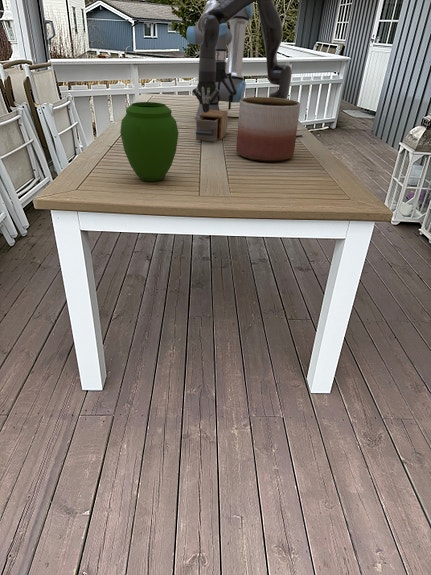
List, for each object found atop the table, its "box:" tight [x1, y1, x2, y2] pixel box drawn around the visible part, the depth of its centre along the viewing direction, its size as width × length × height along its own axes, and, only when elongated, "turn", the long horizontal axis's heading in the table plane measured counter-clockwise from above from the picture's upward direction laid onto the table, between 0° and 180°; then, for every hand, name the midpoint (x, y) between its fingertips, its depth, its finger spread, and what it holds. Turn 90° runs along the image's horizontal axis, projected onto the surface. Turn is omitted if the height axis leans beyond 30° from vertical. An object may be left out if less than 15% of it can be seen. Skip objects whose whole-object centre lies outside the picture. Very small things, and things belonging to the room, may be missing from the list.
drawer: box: [195, 117, 220, 143], centre depth 198 cm, size 21×10×9 cm, turn 168°
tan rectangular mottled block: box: [199, 109, 229, 141], centre depth 208 cm, size 17×11×11 cm, turn 168°
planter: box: [235, 96, 301, 163], centre depth 175 cm, size 25×25×22 cm
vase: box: [119, 101, 179, 182], centre depth 140 cm, size 20×20×24 cm
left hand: (216, 108), depth 209 cm, fingers open, 13 cm apart
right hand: (206, 112), depth 188 cm, fingers closed
